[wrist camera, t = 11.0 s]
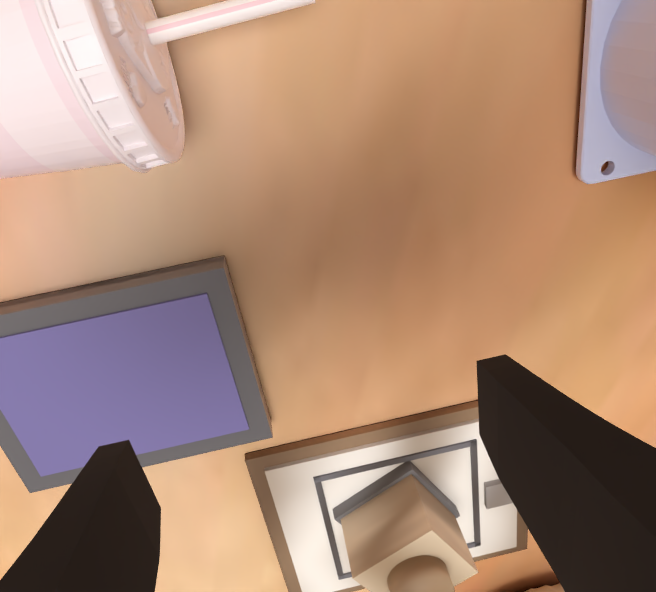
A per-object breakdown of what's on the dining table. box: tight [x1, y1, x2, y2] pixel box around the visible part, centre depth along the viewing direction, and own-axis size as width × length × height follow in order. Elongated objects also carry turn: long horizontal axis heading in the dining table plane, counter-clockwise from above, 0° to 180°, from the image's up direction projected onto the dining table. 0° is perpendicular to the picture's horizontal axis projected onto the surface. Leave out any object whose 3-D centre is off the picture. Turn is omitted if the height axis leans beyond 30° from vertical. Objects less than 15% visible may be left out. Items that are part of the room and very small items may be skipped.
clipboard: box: [245, 400, 528, 592], centre depth 27 cm, size 14×11×1 cm
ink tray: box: [0, 256, 273, 493], centre depth 21 cm, size 10×8×1 cm
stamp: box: [333, 461, 478, 592], centre depth 25 cm, size 4×4×5 cm
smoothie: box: [0, 0, 315, 179], centre depth 14 cm, size 6×6×14 cm
